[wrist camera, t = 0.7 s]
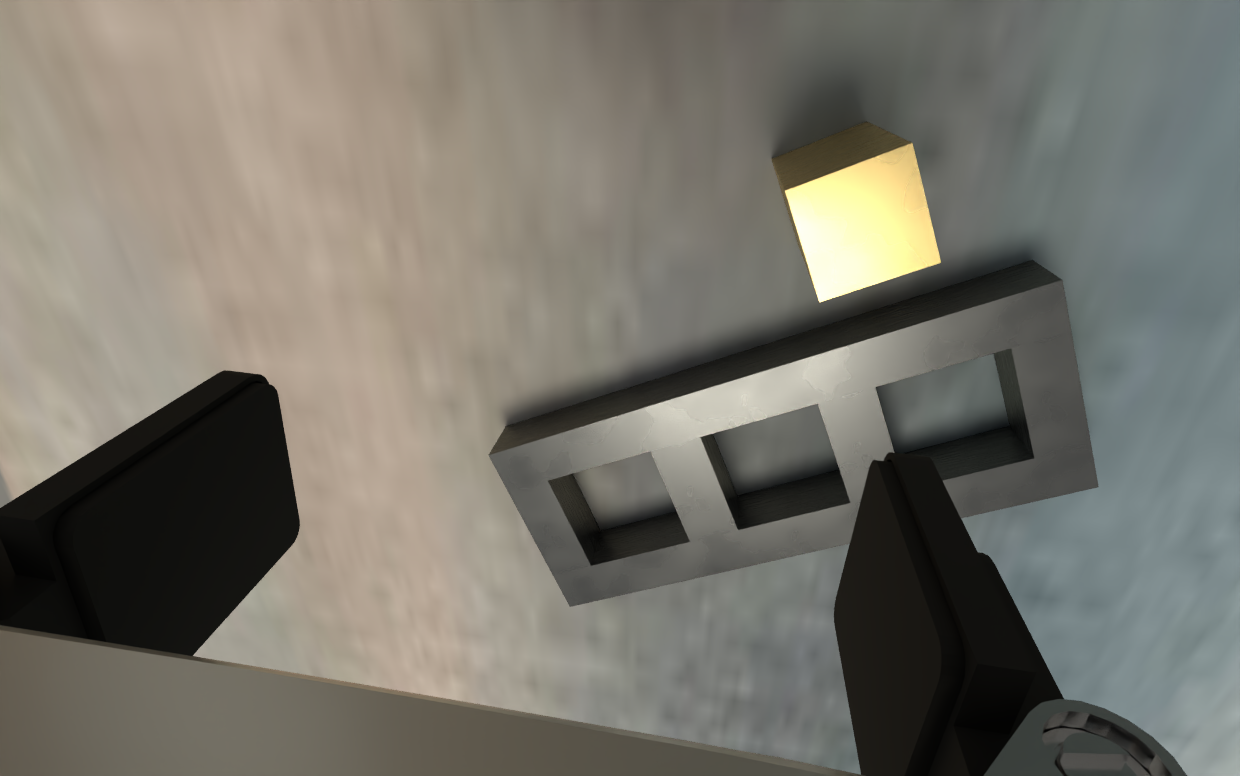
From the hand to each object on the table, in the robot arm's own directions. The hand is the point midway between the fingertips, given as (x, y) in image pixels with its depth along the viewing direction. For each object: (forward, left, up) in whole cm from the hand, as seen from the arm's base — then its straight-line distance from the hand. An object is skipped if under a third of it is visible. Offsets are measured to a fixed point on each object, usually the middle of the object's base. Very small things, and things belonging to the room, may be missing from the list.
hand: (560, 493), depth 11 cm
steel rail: (-1, +13, -23) cm, 26 cm away
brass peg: (-7, +2, -23) cm, 24 cm away
